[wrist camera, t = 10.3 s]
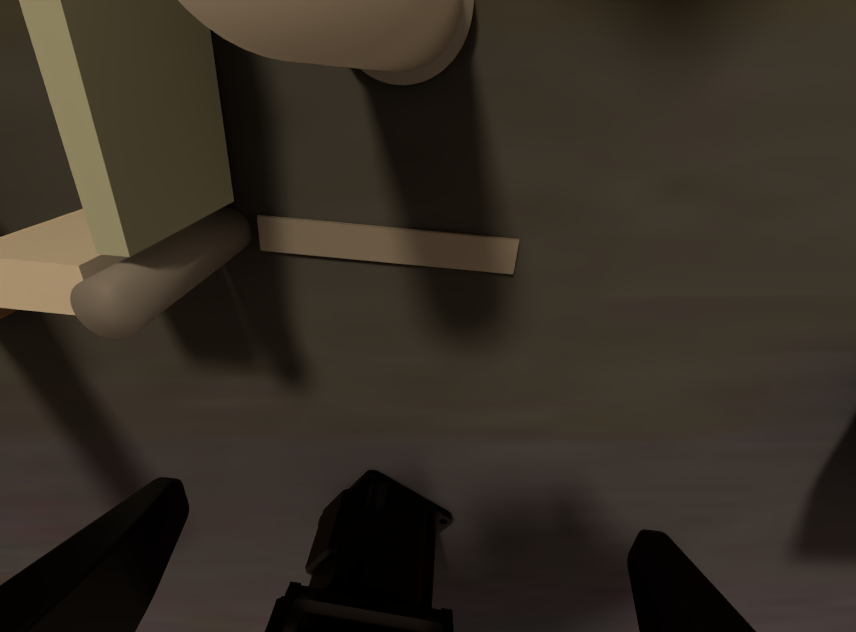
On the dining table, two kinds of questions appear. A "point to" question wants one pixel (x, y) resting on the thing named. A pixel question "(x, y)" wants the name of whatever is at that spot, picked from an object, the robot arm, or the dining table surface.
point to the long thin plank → (202, 262)
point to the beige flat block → (134, 114)
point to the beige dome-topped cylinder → (346, 32)
